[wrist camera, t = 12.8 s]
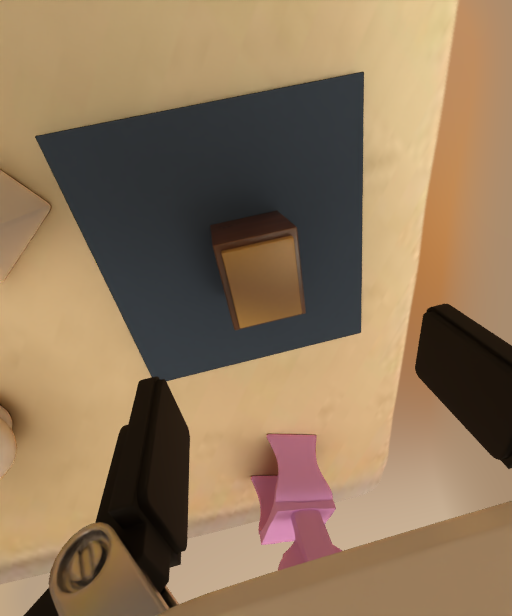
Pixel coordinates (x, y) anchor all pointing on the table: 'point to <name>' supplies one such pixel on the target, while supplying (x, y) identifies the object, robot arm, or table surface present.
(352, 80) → the desk pad
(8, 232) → the medicine bottle
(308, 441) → the toy chair
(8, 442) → the flower vase
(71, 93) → the table surface
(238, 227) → the brown block
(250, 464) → the table surface
